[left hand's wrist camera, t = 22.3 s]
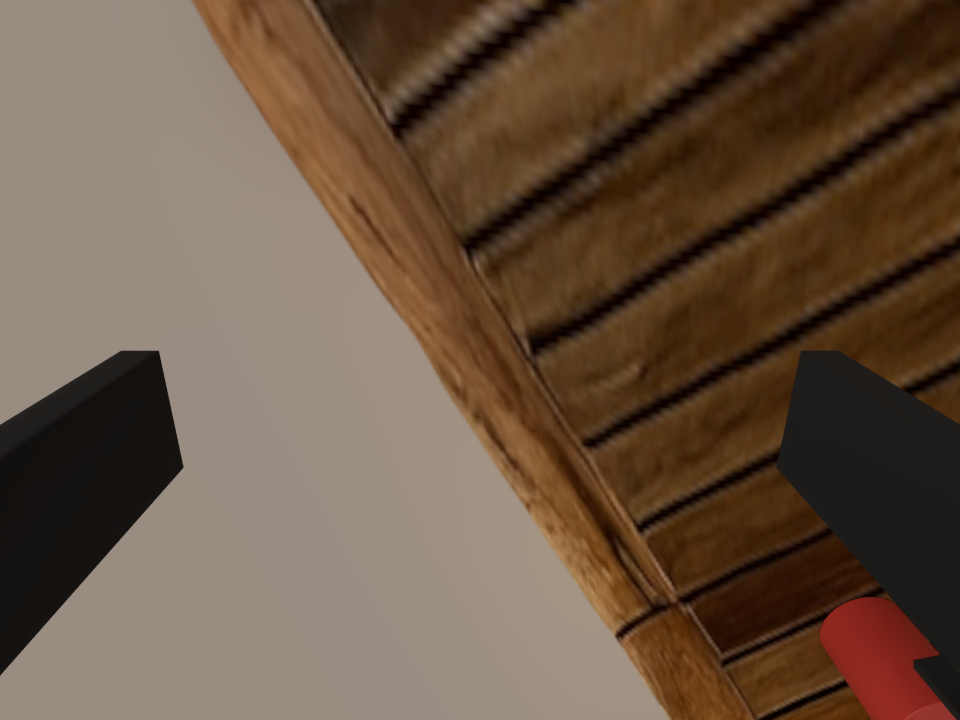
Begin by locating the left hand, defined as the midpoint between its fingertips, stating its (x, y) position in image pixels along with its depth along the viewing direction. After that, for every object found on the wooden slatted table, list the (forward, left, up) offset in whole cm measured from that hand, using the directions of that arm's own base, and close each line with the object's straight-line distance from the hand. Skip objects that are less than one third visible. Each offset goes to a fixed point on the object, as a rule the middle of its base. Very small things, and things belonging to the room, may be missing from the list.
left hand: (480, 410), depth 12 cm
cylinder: (-6, +47, -27) cm, 55 cm away
